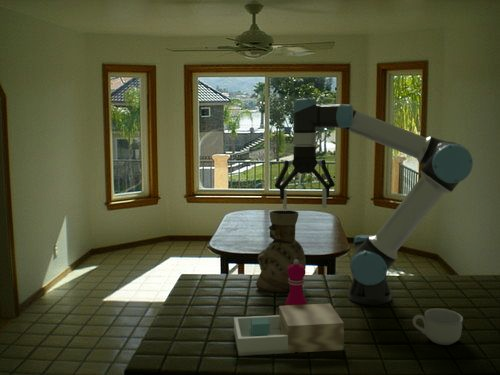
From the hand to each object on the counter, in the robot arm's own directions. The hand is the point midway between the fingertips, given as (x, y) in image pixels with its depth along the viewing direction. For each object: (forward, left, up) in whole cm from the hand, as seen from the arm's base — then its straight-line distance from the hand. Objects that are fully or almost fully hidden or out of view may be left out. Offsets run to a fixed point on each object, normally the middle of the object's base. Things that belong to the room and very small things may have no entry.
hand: (304, 208), depth 186 cm
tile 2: (+19, +29, -31) cm, 46 cm away
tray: (+19, +28, -35) cm, 48 cm away
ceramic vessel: (+5, -20, -35) cm, 41 cm away
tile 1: (+19, +28, -31) cm, 46 cm away
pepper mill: (+5, +11, -35) cm, 37 cm away
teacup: (-33, +33, -35) cm, 58 cm away
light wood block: (+4, +28, -35) cm, 45 cm away
